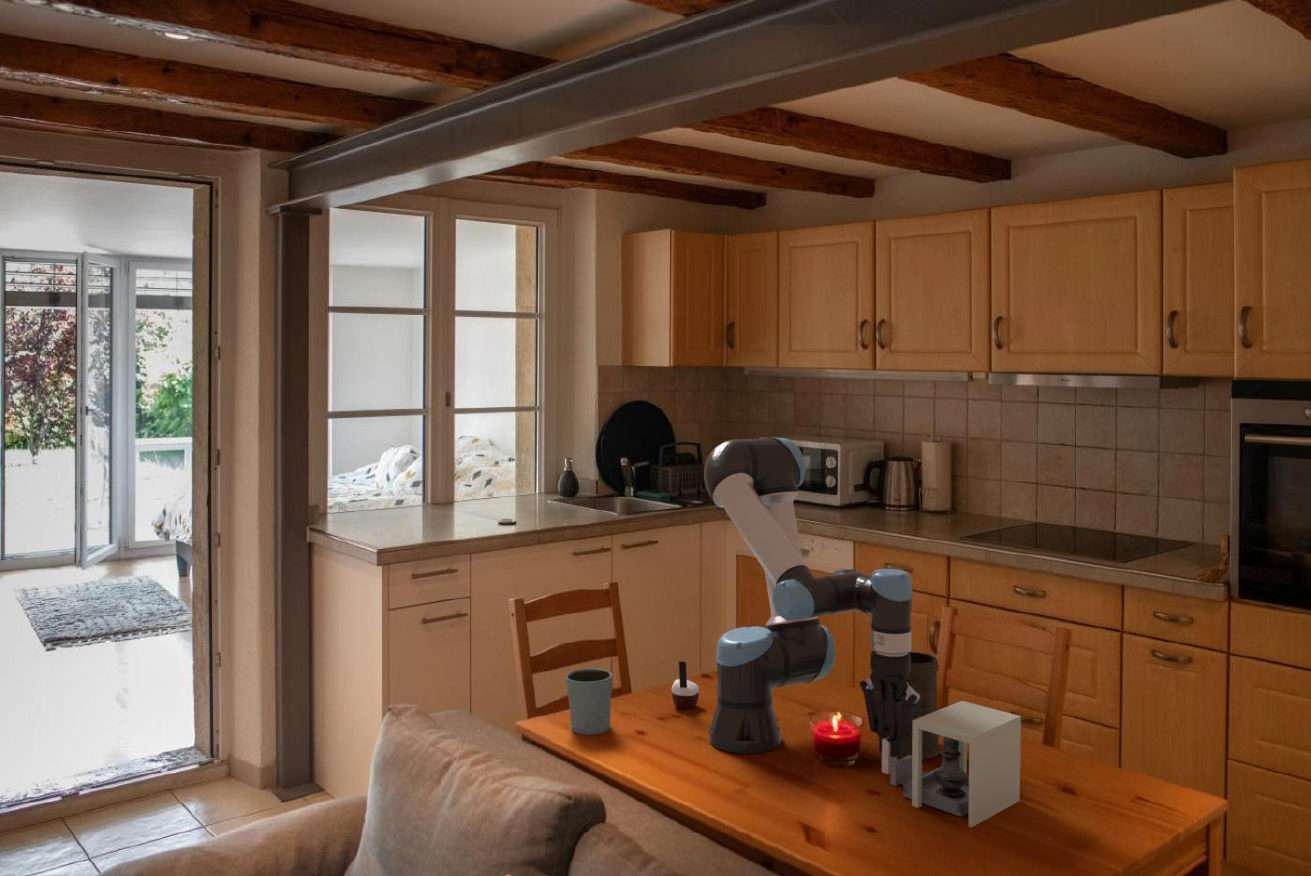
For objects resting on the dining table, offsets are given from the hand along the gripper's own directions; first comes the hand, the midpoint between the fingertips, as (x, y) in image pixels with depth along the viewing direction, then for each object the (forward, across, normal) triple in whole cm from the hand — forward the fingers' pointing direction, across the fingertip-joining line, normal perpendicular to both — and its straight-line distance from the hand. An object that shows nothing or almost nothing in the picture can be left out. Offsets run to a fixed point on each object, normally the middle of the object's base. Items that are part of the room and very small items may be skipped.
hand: (889, 771), depth 200 cm
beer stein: (+2, -6, +17) cm, 18 cm away
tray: (+1, +11, 0) cm, 11 cm away
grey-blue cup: (+2, -61, -25) cm, 66 cm away
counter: (+1, +17, 0) cm, 17 cm away
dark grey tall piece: (0, +14, 0) cm, 14 cm away
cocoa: (+2, -57, 0) cm, 57 cm away
